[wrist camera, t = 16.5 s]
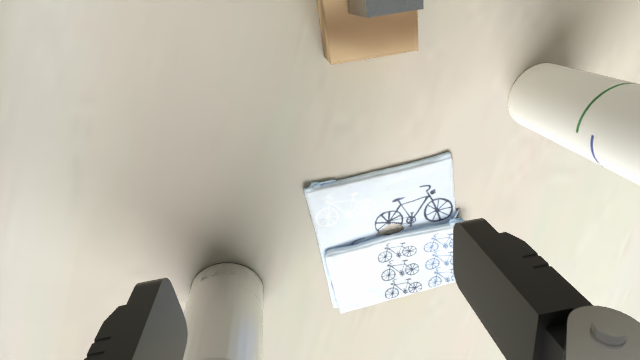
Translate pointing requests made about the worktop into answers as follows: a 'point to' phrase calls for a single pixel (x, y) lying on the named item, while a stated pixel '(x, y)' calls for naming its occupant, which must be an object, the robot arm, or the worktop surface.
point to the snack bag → (385, 251)
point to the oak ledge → (364, 33)
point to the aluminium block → (381, 7)
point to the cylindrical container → (582, 114)
